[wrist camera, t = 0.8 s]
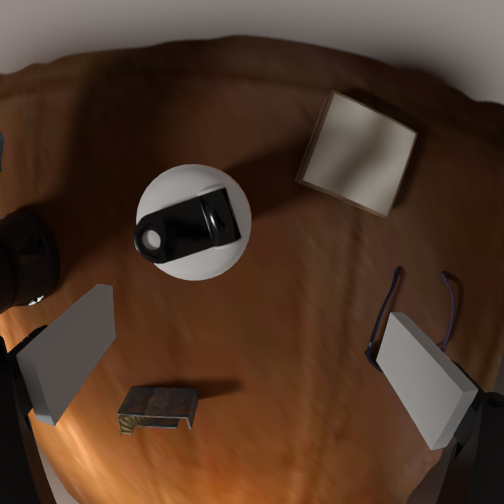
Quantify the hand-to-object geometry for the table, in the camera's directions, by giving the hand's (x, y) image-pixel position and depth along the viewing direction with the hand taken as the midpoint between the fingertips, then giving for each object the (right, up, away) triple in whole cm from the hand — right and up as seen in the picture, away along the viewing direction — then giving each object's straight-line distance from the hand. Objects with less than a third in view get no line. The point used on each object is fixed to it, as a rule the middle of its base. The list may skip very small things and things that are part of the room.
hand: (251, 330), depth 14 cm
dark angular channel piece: (-14, -20, +34) cm, 42 cm away
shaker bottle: (-4, +10, +26) cm, 29 cm away
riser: (+13, +16, +25) cm, 32 cm away
